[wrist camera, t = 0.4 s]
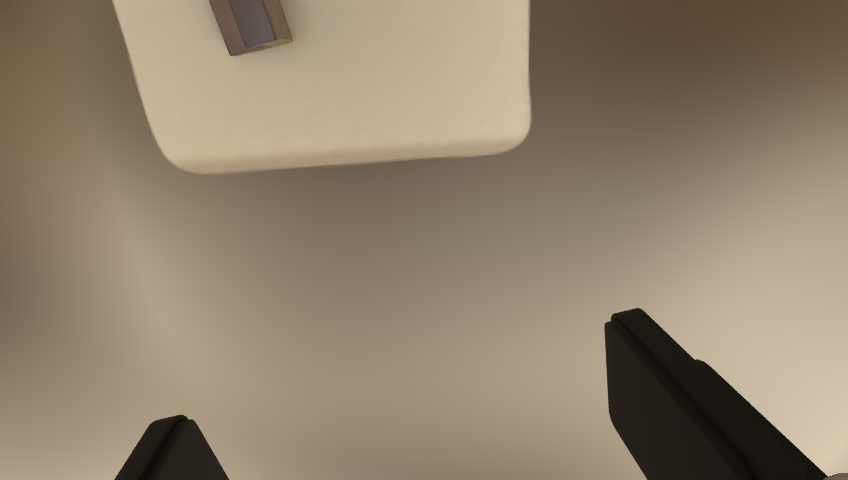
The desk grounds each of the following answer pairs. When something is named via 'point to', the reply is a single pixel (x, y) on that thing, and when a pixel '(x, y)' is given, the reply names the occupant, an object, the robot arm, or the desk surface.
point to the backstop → (251, 24)
